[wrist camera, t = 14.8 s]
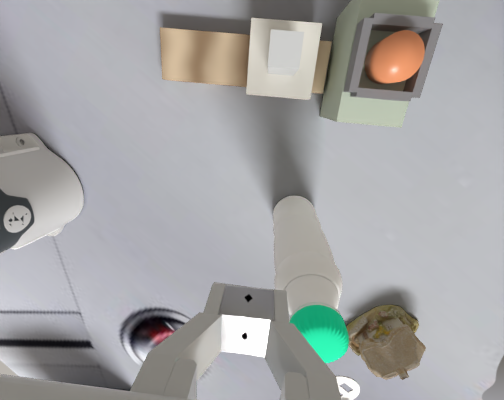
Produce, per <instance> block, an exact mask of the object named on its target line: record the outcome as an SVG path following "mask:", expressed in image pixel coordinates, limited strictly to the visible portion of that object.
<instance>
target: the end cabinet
mask: <svg viewBox="0 0 504 400" xmlns="http://www.w3.org/2000/svg"><path fill="white" fill-rule="evenodd" d="M438 3H439V0H351V1H350V3H349V4H348V5H347V6H346V8H345V9H344V10H343V11H342V13H341V14H340V15H339V16H338V17H337V21H336V27H335V32H334V38H333V44H332V49H331V55H330V61H329V66H328V72H327V78H326V83H325V89H324V95H323V100H322V106H321V112H320V116H321V117H324V118H327V119H330V120H333V121H336V122H346V123H357V124H367V125H378V126H389V127H400V128H401V127H402V123H403V120H404V117H405V113H406V110H407V107H408V103H409V101H410V100H411V98H420V95H421V92H422V89H423V86H424V83H425V80H426V76H427V73H428V70H429V67H430V64H431V60H432V57H433V54H434V51H435V48H436V44H437V41H438V38H439V35H440V32H441V28H442V25H443V24H441V23H434V20H435V13H436V10H437V7H438ZM402 30H409V31H413V32H415V33H417V34H418V35H419V36H420V37H421V39H422V40H423V43H424V48H425V54H424V59H423V62H422V64H421V66H420V67H419V69H418V70H417V72H416V73H415V74H414V75H412V76H411V77H410V78H408V79H406V80H404V81H401V82H395V83H388V84H377V83H374V82H372V81H371V80H370V79H369V78H368V77H367V75H366V72H365V59H366V56H367V54H368V52H369V50H370V49H371V48H372V47H373V46H374V45H375V44H376V43H377V42H379V41H381V40H382V39H384V38H386V37H388V36H390V35H392V34H394V33H396V32H398V31H402Z"/></svg>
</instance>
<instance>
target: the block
mask: <svg viewBox="0 0 504 400" xmlns="http://www.w3.org/2000/svg"><path fill="white" fill-rule="evenodd" d="M160 39H161V60H162V79H164V80H172V81H183V82H194V83H206V84H217V85H228V86H240V87H247V75H248V60H249V46H250V35H246V34H234V33H221V32H209V31H197V30H184V29H172V28H160ZM331 44H332V41H319V48H318V54H317V60H316V66H315V73H314V79H313V85H312V92H311V93H319V94H321V93H323V90H324V84H325V78H326V72H327V67H328V61H329V55H330V50H331Z"/></svg>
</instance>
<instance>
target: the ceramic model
mask: <svg viewBox="0 0 504 400" xmlns="http://www.w3.org/2000/svg"><path fill="white" fill-rule="evenodd" d="M418 326H419V324H418V320H416V319H414V318H412V317H411V316H409V315H408V314H407V313H406V312H405V310H403V309H402V308H401V307H399V306H395V305H383V306H377V307H375V308H373V309H371V310H370V311H368V312H366V313H364V314H362V315H361V316H359V317H358V318H356V319H355V320H354V321H352V322H351V323H350V324H348V325H347V327H346V328H347V331H348V335H349V344H348V346H349V347H350V348H351V349H352V351H353V352H354V353H355V354H357V355H358V356H359V355H361V357H362V359H363V360H364V361H365V362H366V365H367V367H368V369H369V370H370V371H371V372H372V373H373V374H374V375H375V376H376V377H381V378H383V379H385V380H387V379H390V378H393V377H396V376H397V375H399V376H400V378H401V379H402V380H403V379H405V378H408V377H409V376H408V374H407V371H409V370H412V369H414V368H416V367H418V366H419V365H420V360H421V358H422V355H423V353H424V351H425V349H426V347H425V346H424V344H423V343H422V342H420V341H419V339H418V338H417V337H416V336H415V334H414V333H415V332H416V330H417V328H418Z"/></svg>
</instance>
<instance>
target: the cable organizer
mask: <svg viewBox="0 0 504 400" xmlns="http://www.w3.org/2000/svg"><path fill="white" fill-rule="evenodd" d="M336 379H337V383H338V387H339V392H340V393H341V394H343V395H341V400H348V399H349V400H353V399H354V398H356V397H357V396H358V394H359V392H360V388H359V385H358V383H357V382H356V381H354V380H353V379H351V378H348V377H344V376H336ZM343 383H346V384H347V385H348V386H349V387H351V388H352V389H353V390H351V391H349V392H347V391H346V390H345V389H343V388H342V387H341V386H339V385H341V384H343Z"/></svg>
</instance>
